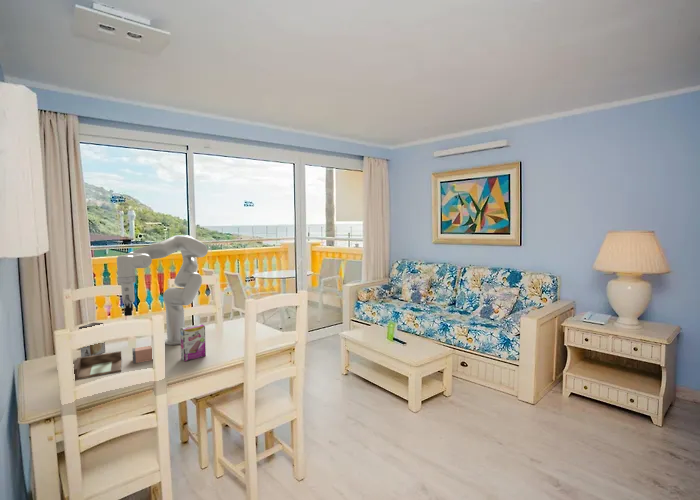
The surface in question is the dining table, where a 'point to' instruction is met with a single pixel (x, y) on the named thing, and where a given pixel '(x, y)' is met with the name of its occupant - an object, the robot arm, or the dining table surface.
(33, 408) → the dining table surface
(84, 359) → the tray
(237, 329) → the dining table surface
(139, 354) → the bar
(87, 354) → the coffee box
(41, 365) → the dining table surface
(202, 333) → the candy bar box
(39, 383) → the dining table surface
